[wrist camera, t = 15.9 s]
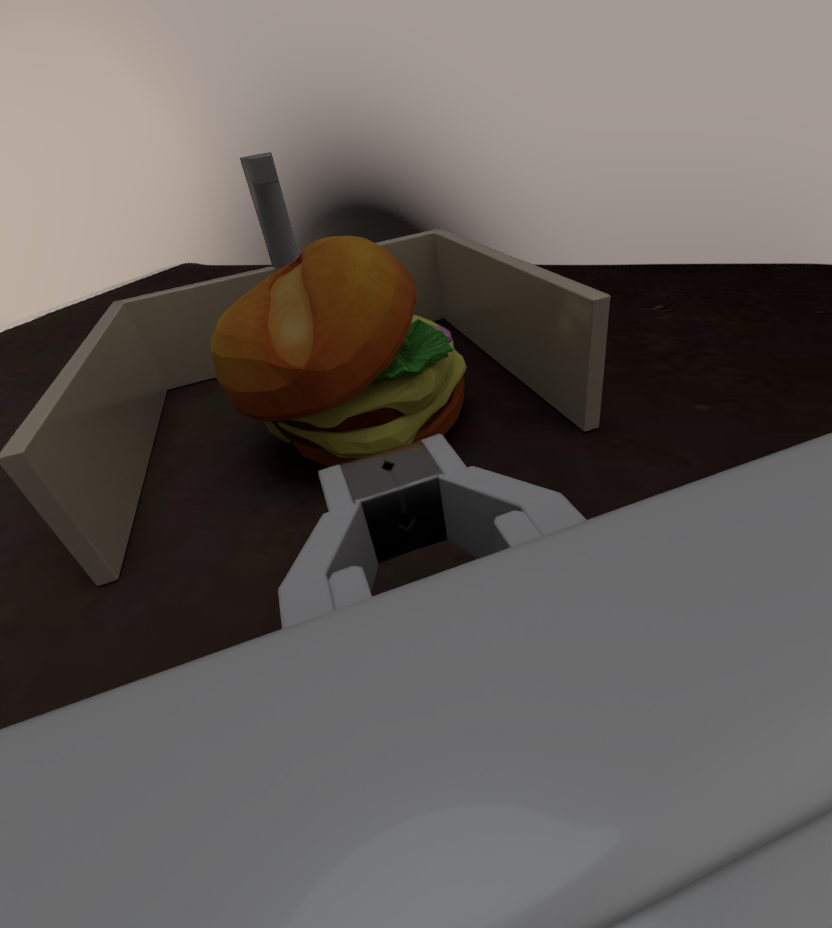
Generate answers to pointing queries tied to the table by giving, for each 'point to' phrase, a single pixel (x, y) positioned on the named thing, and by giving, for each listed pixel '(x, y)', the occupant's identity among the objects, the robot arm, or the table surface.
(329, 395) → the cheeseburger
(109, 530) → the grey u-shaped wall
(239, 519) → the table surface
